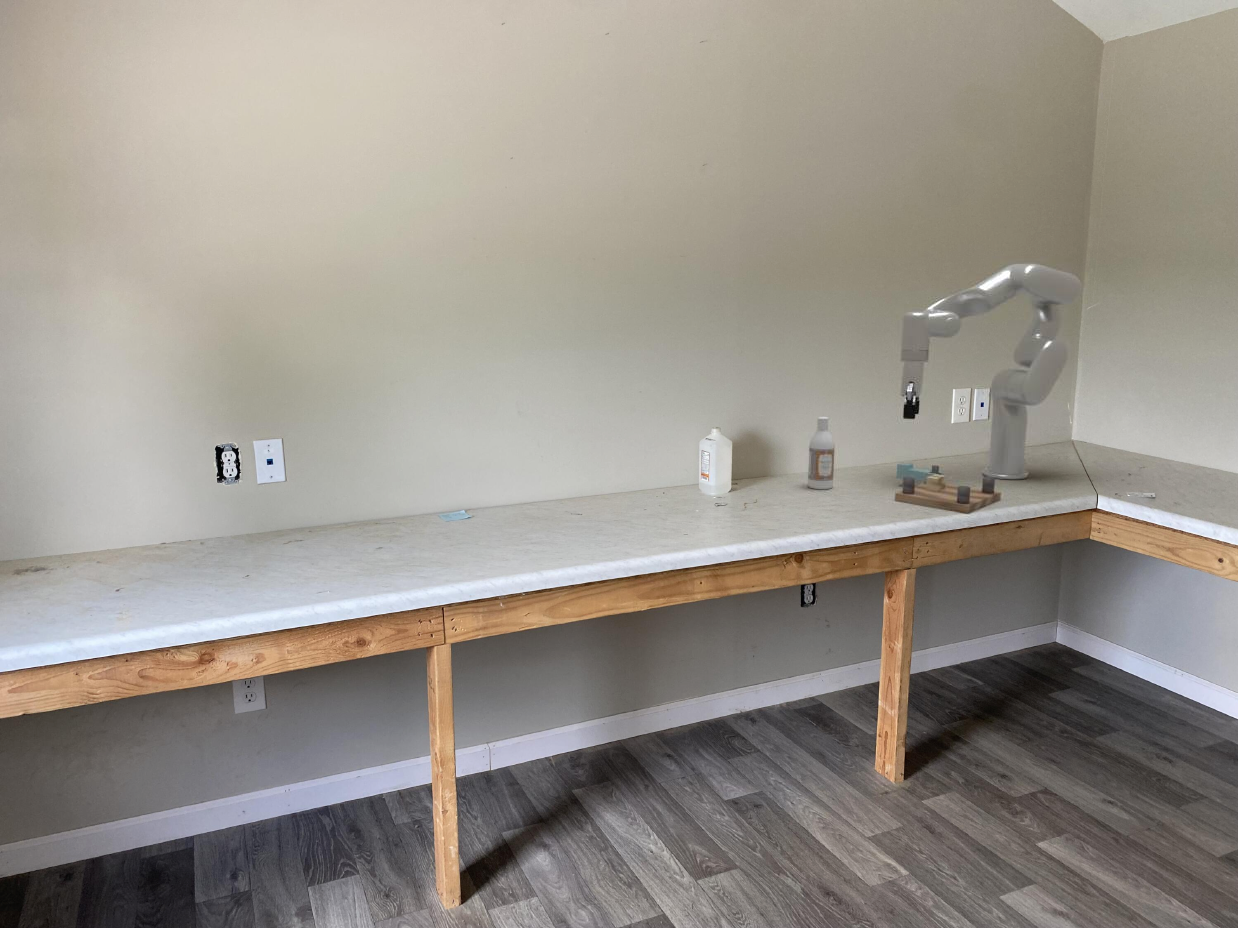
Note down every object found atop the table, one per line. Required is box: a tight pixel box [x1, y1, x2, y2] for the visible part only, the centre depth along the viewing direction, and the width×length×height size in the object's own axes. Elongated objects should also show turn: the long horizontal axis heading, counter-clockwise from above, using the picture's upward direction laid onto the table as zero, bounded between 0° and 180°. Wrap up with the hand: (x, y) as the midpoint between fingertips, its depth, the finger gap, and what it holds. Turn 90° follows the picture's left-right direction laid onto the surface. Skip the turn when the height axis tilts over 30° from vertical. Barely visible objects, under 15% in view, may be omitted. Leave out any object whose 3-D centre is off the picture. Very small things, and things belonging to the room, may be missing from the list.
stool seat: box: [894, 464, 1002, 514], centre depth 243 cm, size 20×20×7 cm
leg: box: [896, 462, 944, 483], centre depth 257 cm, size 12×4×4 cm, turn 45°
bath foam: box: [807, 416, 835, 490], centre depth 258 cm, size 7×7×20 cm
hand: (911, 416), depth 261 cm, fingers open, 9 cm apart
